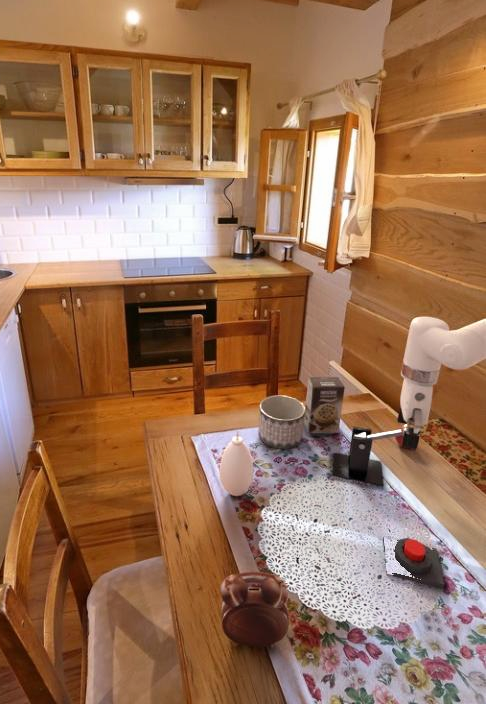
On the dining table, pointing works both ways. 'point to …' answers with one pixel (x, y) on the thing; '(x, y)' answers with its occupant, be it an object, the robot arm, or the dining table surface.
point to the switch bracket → (358, 461)
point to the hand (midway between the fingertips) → (406, 434)
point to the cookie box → (323, 404)
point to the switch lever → (384, 434)
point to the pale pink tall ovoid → (236, 467)
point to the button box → (420, 566)
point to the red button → (414, 550)
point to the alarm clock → (254, 609)
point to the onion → (399, 438)
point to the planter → (281, 421)
